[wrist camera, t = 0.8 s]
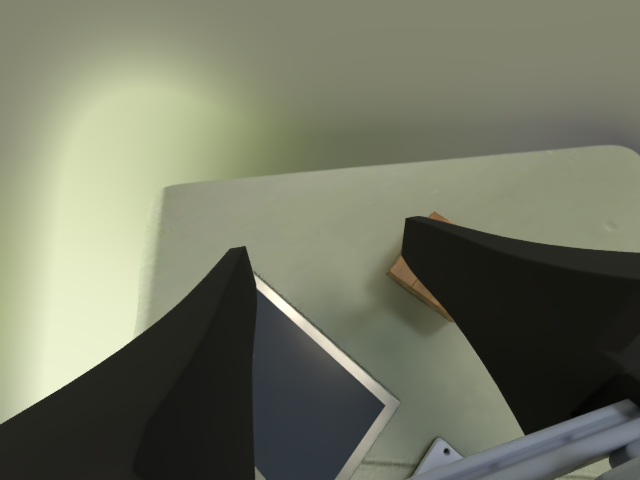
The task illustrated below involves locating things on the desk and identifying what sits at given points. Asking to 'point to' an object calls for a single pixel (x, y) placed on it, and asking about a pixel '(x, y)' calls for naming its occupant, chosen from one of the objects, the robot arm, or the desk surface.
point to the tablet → (309, 398)
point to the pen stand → (410, 281)
